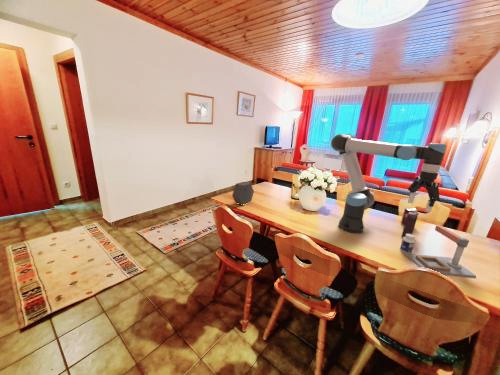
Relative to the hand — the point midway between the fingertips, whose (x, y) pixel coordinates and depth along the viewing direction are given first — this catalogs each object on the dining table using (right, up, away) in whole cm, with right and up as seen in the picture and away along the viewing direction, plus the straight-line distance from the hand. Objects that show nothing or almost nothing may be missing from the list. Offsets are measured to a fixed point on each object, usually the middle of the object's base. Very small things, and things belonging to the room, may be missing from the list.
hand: (418, 206), depth 121 cm
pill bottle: (-13, -24, -7) cm, 28 cm away
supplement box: (+1, -20, +11) cm, 22 cm away
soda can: (+14, -16, +27) cm, 34 cm away
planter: (-105, -2, +53) cm, 117 cm away
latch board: (-5, -27, -18) cm, 33 cm away
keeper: (+3, -15, -15) cm, 21 cm away
